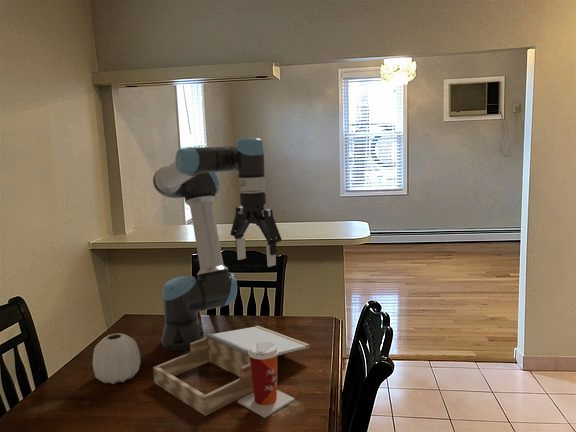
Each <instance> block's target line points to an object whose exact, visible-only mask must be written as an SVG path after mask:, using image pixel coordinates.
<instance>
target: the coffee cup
mask: <svg viewBox="0 0 576 432" xmlns="http://www.w3.org/2000/svg"><path fill="white" fill-rule="evenodd" d="M278 353H279V350H278V349H277V346H276V345H275V344H273V343H270V342H260V343H256V344H253V345H252V346H251V347H250V350H249V352H248V355H249V356H250V364H251V373H252V382H253V390H254V391H253V392H254V398H255V402H256V403H257V404H259V405H270V404H273V403H274V402H275V401H276V398H277V390H278V357H279V356H278Z"/></svg>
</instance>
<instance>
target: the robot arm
mask: <svg viewBox="0 0 576 432" xmlns="http://www.w3.org/2000/svg"><path fill="white" fill-rule="evenodd" d="M237 171H238V178H239V179H238V182H239V191H240V194H239V202H240V203H239V205H240V206H236V207H235V216H234V219H233V223H232V226H231V230H230V236H232V237H234V239H235V248H236V254H237V260H238V261H240V260H244V259H247V257H246V238H245V233H246V231H247V230H248V228H249V226H250V224H254V225H256V226H258V227H259V229H260V231H261V233H262V235H263V236H264V238H265V240H266V241H267V243H266V245H265V246H266V263H267V268H268V267H269V268H270V267H273V266H276V265H277V258H276V257H277V256H276V255H277V243H281V242H282V240H283V239H282V237H281V234H280V232H279V228H278V226H277V224H276V223H277V222H276V220H275V218H274V213H273V209H272V208H268V209H267V208H266V209H265V205H266V203H267V198H266V197H267V195H266V192H265V190H266V179H265V178H266V177H265V176H266V175H265V150H264V144H263V140H262V138H258V137H256V138H255V137H254V138H238V140H237V142H236V145H229V146H227V145H226V146H212V147H211V146H210V147H207V146H206V147H205V146H204V147H202V146H200V147H189V146H188V147H186V148H184V147H183V148H179V149H177V151H176V154H175V160H174V161H173V162H172V163H170V164H169V165H166V166H162V167H160V168H159V169H158V170H156V172H155V173H154V176H153V178H152V183H153V187H154V189H155V190H156V191H157V192H158V193H159V194H160V195H162V196H165V197H167V198H171V199H172V198H173V199H178V198H179V199H180V198H183V199H184V203H185V204H186V205H187V206H189V208H190V215H191V220H192V227H193V232H194V239H195V245H196V251H197V257H198V262H199V268H200V269H199V271H198V273H197V274H196V275H197V278H196V277H195V276H192V275H185V276H184V275H183V276H182V275H181V276H177V277H174V278H172V279H170V280H168V281H167V282H165V283H164V285H163V287H162V298H161V299H162V301H163V313H164V314H163V315H164V326H163V327H164V328H163V333H162V336H161V347H162V348H163V349H165V350H168V351H173V352H179V351H180V352H183V351H189V350H190V343H192V342H195V341H197V340H200V339H203V338H205V333H204V330H203V328H202V325H201V322H200V321H199V312H202V311H207V310H211V309H212V310H213V309H216V308H223V307H225V306H228V305H231V304H233V303H234V301H235V300H236V298H237V294H238V283H237V279H236V276H235V274H234V273H232V272H230V271H229V268H228V267H227V266H226V265H225V264H224V260H223V255H222V249H221V243H220V238H219V237H220V236H219V232H218V227H217V226H218V225H217V220H216V214H215V209H214V202H215V200H216V198H217V197H216V195H217V194H218V193H219V191H220V187H219V186H220V181H219V177H218V174H217V173H220V172H221V173H222V172H237Z"/></svg>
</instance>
